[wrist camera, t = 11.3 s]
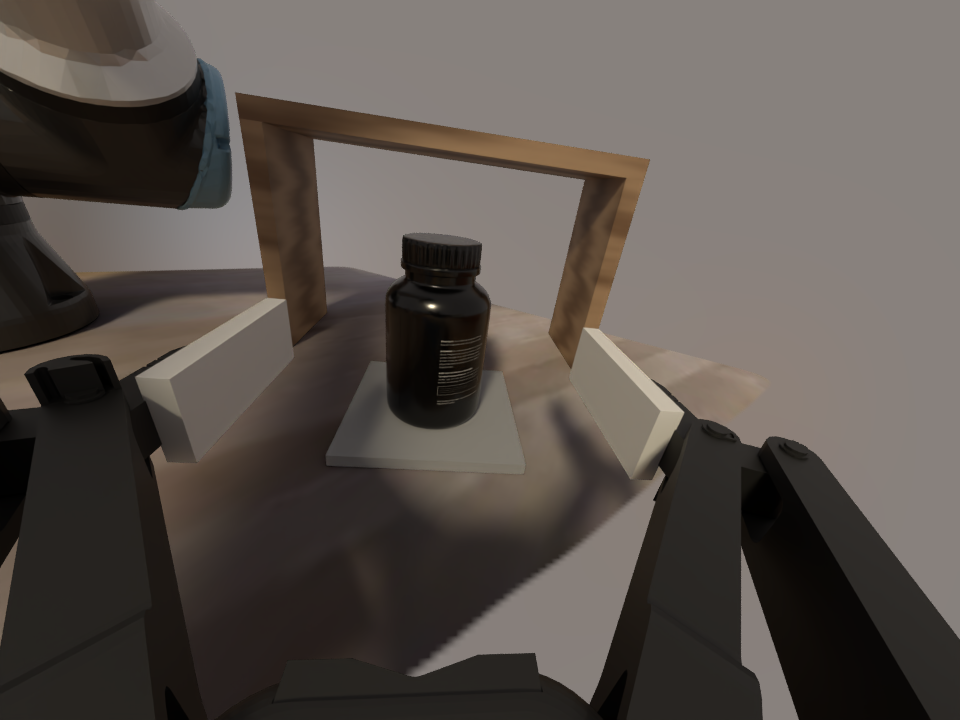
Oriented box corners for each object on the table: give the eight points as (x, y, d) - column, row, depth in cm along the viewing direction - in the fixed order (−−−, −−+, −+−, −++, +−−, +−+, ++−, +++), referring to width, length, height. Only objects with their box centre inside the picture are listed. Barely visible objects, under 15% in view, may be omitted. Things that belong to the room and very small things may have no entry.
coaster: (326, 465, 20) (325, 455, 20) (371, 368, 31) (370, 360, 30) (523, 474, 21) (525, 465, 21) (500, 378, 32) (502, 371, 32)
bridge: (585, 371, 36) (650, 159, 27) (275, 345, 32) (235, 92, 24) (559, 334, 45) (602, 166, 36) (314, 311, 41) (295, 117, 32)
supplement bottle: (476, 384, 29) (496, 238, 24) (478, 437, 23) (507, 255, 18) (394, 377, 28) (397, 225, 23) (375, 429, 22) (372, 238, 17)
